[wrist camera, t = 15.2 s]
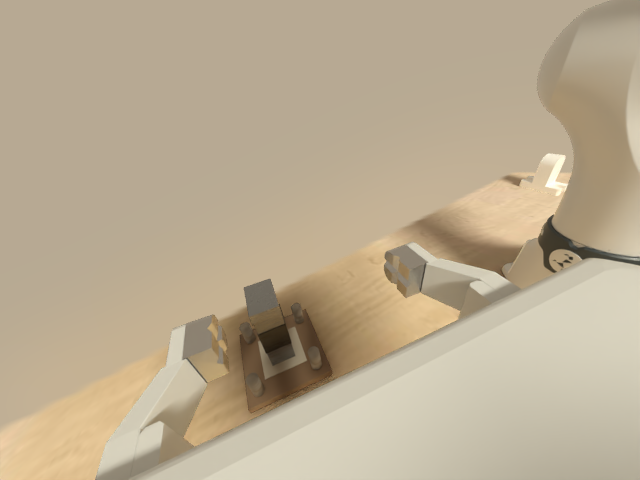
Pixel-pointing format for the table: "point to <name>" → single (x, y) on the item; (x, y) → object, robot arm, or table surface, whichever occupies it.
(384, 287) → the table surface
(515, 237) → the table surface
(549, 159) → the cable organizer
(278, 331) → the grey rectangular block
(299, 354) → the peg cradle
